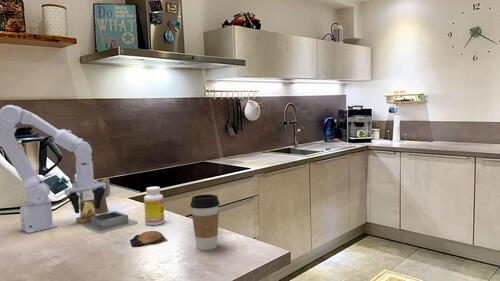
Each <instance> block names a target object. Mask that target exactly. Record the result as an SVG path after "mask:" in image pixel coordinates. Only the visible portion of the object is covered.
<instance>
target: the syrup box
mask: <svg viewBox="0 0 500 281" xmlns="http://www.w3.org/2000/svg"><path fill="white" fill-rule="evenodd" d="M74 184H75V185H74V187H77V176H76V173H75V174H74ZM76 194H77V195H79V202H80V201H84V200H93V199H94V194H93V192H92V190H91V191H86V192H80V193H76ZM79 209H80V205H79Z"/></svg>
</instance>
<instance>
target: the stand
mask: <svg viewBox="0 0 500 281" xmlns="http://www.w3.org/2000/svg"><path fill="white" fill-rule="evenodd" d="M96 215H97V214H95V216H96ZM75 218H76V219H75V220H76V223H79V224H81V225H82V224H84V223H88V222H91V218H90V219H81V218H80V216H78V217H75Z"/></svg>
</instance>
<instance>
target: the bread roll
mask: <svg viewBox="0 0 500 281" xmlns="http://www.w3.org/2000/svg"><path fill="white" fill-rule="evenodd" d="M168 241H169V240H168V239H167V238H166V237H165V236H164V235H163V234H162V232H160V231H158V230H148V231H144V232H142V233H140V234H136V235H134V236H133V238H132V239H129V242H130V246H131V247H133V248H142V247H147V246H152V245H156V244H157V245H158V244H162V243H166V242H168Z"/></svg>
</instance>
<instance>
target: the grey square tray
mask: <svg viewBox="0 0 500 281" xmlns="http://www.w3.org/2000/svg"><path fill="white" fill-rule="evenodd" d="M95 215H96V216H92V217H90V218H91V222H88V223H84V224H81V226H82V227H84V228H86V229H88V230H91V231H93V232H95V233H97V234H102V233H106V232H110V231H114V230H117V229H121V228H122V229H123V228H124V227H125V228H126V227H128V226H132V225H137V224H138V223H139V222H138V221H137V220H134V219H130V218H129V214H126V213H123V212H119V211H116V210H115V211H111V212H110V211H108V212H106V213H102V214H95Z"/></svg>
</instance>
